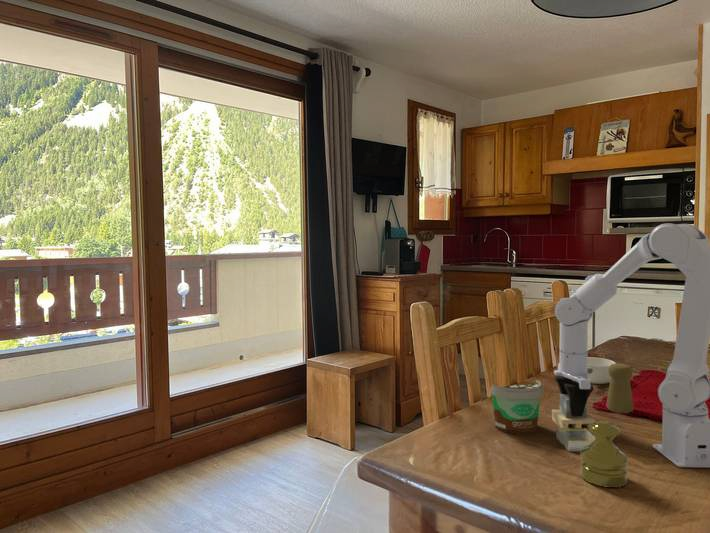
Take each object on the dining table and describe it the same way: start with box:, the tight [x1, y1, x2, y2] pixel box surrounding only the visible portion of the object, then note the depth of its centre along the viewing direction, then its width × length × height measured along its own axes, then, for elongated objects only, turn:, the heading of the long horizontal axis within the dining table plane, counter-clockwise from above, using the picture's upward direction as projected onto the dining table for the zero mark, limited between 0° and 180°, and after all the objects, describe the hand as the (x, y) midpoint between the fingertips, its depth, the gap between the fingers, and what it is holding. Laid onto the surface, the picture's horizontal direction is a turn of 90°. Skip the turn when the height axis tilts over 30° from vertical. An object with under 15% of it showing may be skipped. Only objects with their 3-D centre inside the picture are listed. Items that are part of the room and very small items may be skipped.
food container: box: [489, 379, 545, 435], centre depth 111 cm, size 12×6×10 cm, turn 105°
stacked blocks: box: [551, 393, 596, 429], centre depth 114 cm, size 7×7×6 cm
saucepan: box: [587, 356, 617, 385], centre depth 147 cm, size 12×20×6 cm, turn 142°
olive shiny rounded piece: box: [579, 420, 629, 488], centre depth 88 cm, size 7×7×10 cm
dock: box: [555, 427, 595, 452], centre depth 104 cm, size 7×6×2 cm
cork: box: [605, 362, 635, 414], centre depth 124 cm, size 6×6×11 cm
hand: (572, 412), depth 114 cm, fingers closed on stacked blocks, 4 cm apart
